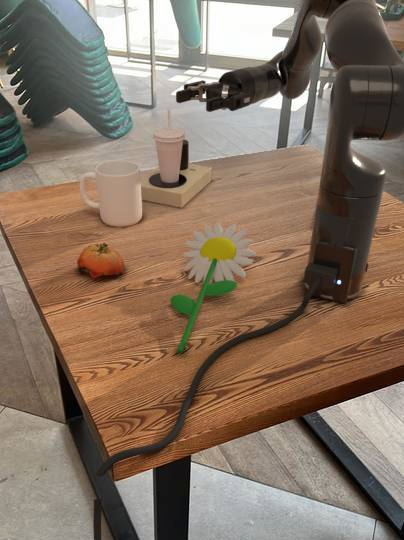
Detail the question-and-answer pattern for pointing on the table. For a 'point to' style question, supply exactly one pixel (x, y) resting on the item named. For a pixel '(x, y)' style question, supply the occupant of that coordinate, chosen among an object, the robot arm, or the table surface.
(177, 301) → the decorative flower
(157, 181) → the burner ring
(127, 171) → the cup
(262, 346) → the table surface
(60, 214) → the table surface
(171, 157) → the smoothie
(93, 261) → the tomato
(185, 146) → the stove knob
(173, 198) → the hob
